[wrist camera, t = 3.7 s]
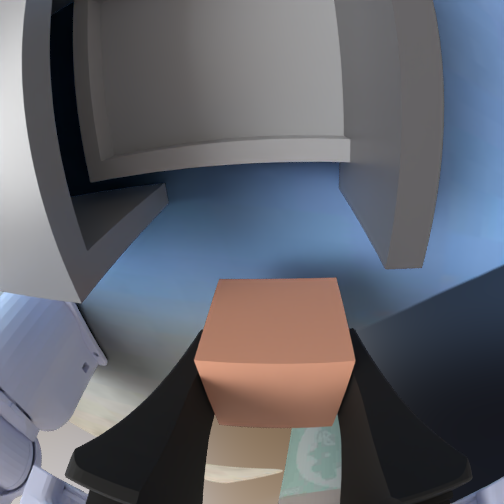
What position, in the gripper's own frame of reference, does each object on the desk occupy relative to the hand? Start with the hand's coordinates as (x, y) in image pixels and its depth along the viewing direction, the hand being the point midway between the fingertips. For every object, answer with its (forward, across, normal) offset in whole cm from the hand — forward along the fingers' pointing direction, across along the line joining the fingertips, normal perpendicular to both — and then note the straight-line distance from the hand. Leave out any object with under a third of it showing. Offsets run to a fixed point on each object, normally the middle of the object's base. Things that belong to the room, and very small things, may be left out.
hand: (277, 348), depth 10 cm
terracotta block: (+2, 0, 0) cm, 2 cm away
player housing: (+4, +10, -11) cm, 16 cm away
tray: (+4, +2, -11) cm, 12 cm away
